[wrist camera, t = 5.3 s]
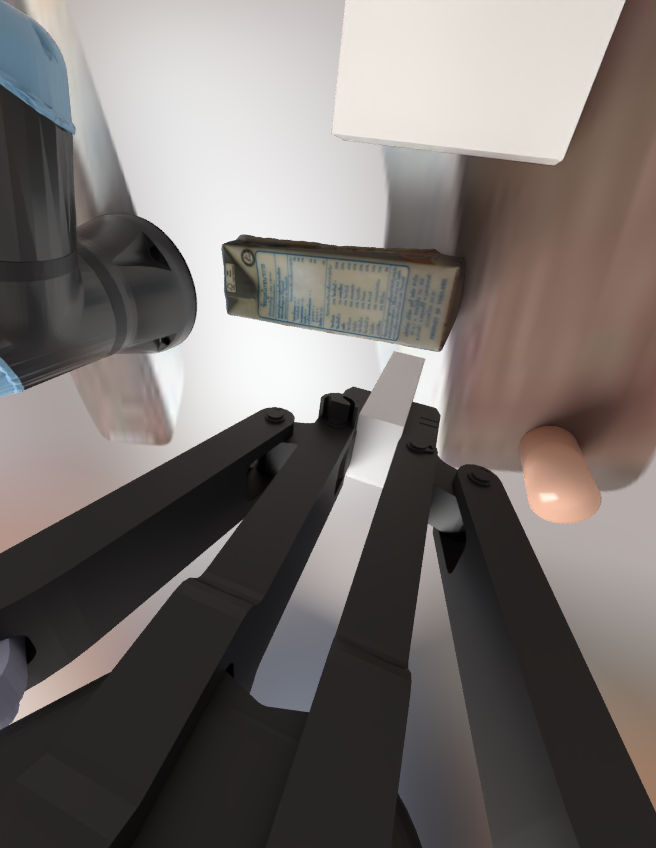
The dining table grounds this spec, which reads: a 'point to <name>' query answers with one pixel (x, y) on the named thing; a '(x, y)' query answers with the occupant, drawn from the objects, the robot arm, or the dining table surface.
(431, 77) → the white flat slab
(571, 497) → the peach rounded cylinder
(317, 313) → the beverage carton
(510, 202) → the dining table surface
